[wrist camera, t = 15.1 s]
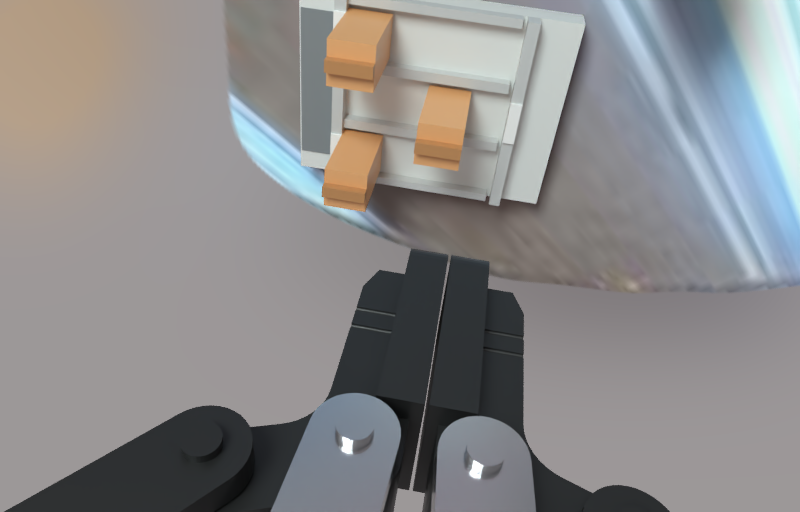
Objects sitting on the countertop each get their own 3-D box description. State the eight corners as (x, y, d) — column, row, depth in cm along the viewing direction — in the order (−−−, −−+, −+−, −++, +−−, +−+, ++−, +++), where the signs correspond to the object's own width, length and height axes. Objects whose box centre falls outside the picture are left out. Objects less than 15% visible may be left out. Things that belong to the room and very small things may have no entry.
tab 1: (393, 14, 41) (374, 49, 36) (389, 57, 43) (371, 97, 38) (349, 7, 42) (324, 41, 36) (347, 51, 43) (323, 89, 38)
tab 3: (471, 91, 44) (464, 134, 39) (464, 129, 46) (457, 175, 40) (429, 84, 44) (416, 126, 39) (424, 123, 46) (411, 168, 41)
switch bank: (583, 15, 42) (587, 31, 39) (535, 190, 50) (536, 213, 48) (307, -25, 43) (293, -11, 40) (307, 153, 52) (296, 174, 49)
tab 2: (383, 135, 47) (365, 180, 42) (380, 169, 49) (363, 216, 44) (344, 129, 47) (322, 173, 42) (343, 163, 49) (321, 209, 44)
